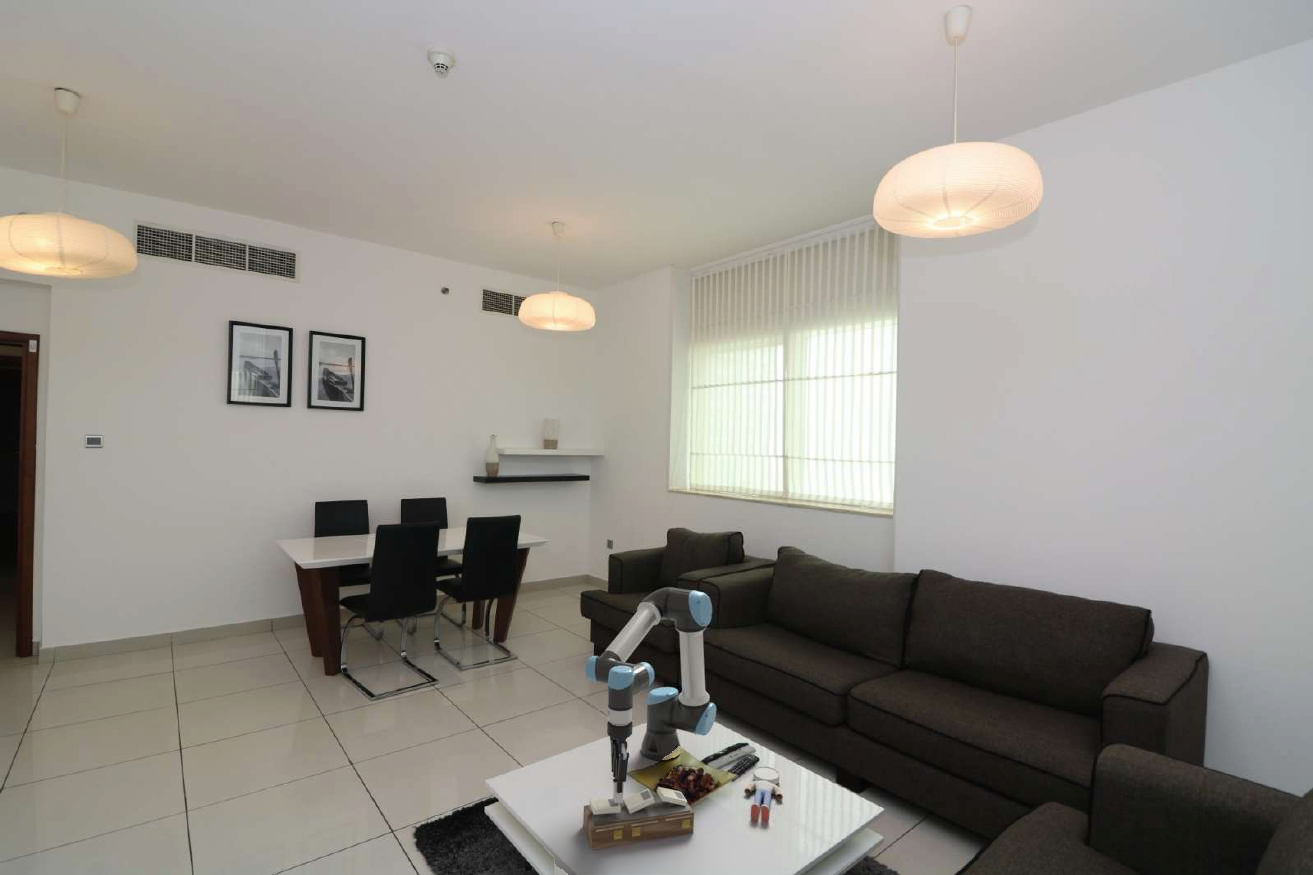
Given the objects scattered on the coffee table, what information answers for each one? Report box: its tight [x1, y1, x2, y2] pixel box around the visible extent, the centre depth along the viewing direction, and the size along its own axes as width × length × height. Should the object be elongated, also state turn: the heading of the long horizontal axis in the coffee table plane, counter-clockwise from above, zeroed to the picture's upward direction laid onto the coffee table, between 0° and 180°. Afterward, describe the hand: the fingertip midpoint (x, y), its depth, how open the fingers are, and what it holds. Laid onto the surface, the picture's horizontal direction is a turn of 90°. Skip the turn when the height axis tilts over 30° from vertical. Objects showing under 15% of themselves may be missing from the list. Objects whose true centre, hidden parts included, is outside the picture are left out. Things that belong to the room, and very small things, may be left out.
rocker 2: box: [656, 786, 688, 806], centre depth 189 cm, size 6×8×1 cm
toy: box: [743, 765, 784, 823], centre depth 207 cm, size 6×13×30 cm
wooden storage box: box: [582, 794, 695, 851], centre depth 186 cm, size 12×31×7 cm, turn 108°
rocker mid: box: [623, 788, 655, 814], centre depth 186 cm, size 6×8×1 cm
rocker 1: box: [589, 797, 621, 815], centre depth 183 cm, size 6×8×1 cm
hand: (618, 801), depth 184 cm, fingers closed
